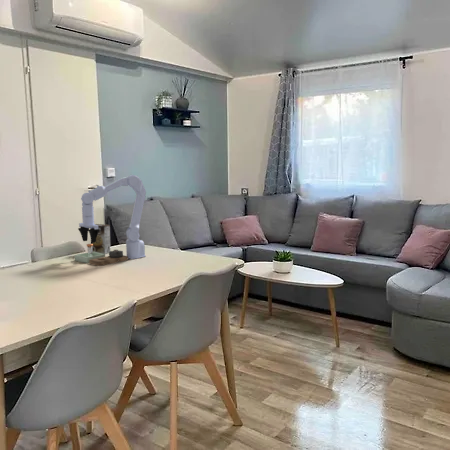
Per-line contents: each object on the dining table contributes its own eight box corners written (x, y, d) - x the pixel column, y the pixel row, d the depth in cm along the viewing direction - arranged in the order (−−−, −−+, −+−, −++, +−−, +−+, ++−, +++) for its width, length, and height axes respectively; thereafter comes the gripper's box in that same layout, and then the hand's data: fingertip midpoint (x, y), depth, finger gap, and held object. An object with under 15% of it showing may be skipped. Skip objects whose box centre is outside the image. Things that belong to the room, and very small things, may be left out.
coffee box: (90, 253, 263) (89, 225, 261) (97, 251, 270) (95, 223, 267) (105, 254, 261) (103, 225, 259) (111, 252, 267) (110, 224, 265)
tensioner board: (118, 257, 251) (118, 247, 251) (128, 259, 246) (127, 249, 246) (89, 263, 238) (89, 253, 237) (98, 265, 233) (98, 255, 232)
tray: (93, 257, 254) (92, 251, 254) (105, 259, 247) (105, 254, 246) (74, 260, 246) (74, 254, 245) (86, 263, 238) (86, 257, 238)
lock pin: (91, 258, 248) (90, 243, 247) (94, 259, 246) (94, 244, 245) (86, 259, 246) (85, 244, 245) (89, 260, 244) (88, 245, 242)
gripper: (73, 215, 245) (74, 241, 247) (89, 217, 235) (90, 244, 237) (85, 214, 250) (86, 239, 252) (101, 216, 241) (102, 242, 242)
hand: (89, 241), depth 245 cm, fingers open, 7 cm apart
